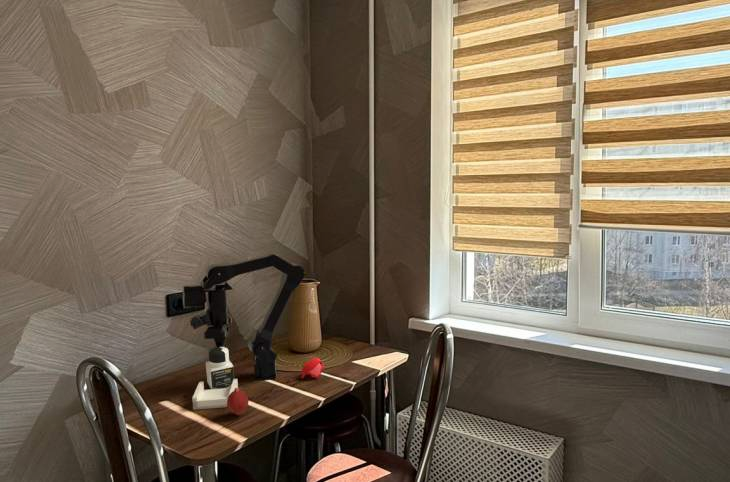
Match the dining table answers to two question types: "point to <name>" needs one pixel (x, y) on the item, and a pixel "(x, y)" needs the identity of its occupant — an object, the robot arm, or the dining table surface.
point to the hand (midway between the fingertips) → (220, 351)
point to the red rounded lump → (237, 401)
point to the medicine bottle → (219, 369)
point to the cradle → (212, 396)
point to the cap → (312, 368)
